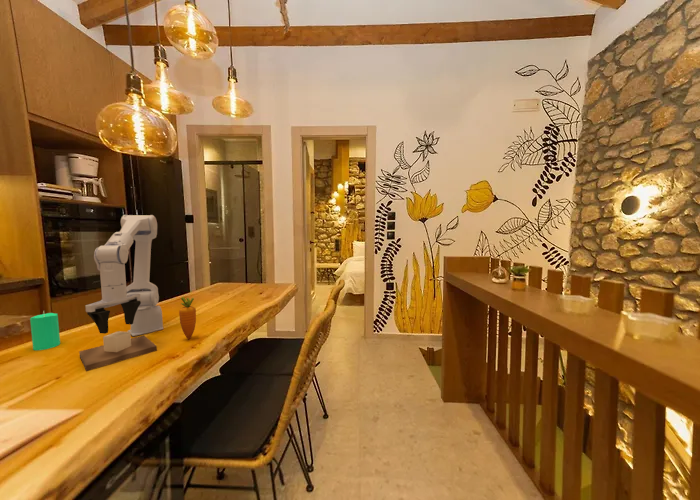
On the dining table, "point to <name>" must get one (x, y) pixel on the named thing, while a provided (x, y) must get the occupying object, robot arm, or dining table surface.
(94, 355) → the walnut board
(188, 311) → the carrot
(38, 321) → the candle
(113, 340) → the cube
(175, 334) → the dining table surface
